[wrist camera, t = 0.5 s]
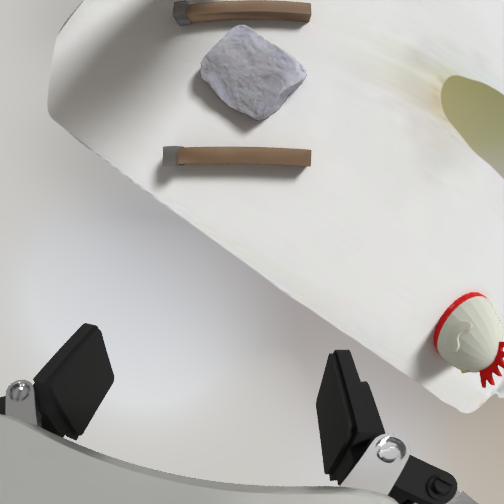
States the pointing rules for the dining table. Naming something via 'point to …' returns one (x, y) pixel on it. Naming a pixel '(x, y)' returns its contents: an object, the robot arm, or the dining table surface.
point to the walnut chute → (236, 11)
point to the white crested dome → (471, 336)
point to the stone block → (251, 73)
